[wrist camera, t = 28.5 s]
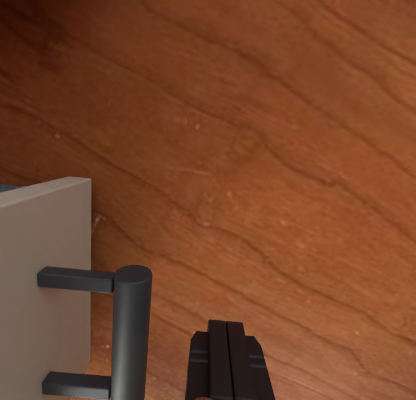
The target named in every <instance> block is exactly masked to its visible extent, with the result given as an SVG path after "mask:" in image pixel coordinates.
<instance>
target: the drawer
mask: <svg viewBox="0 0 416 400" xmlns="http://www.w3.org/2000/svg"><path fill="white" fill-rule="evenodd" d="M151 288H152V272H151V270H150V269H149V268H147V267H145V266H140V265H129V266H125V267H122V268H120V269H118V270H117V271H116V272H115V273H113V272H102V271H92V270H91V179H90V178H81V177H71V176H69V177H65V178H60V179H56V180H52V181H48V182H43V183H39V184H35V185H31V186H16V185H6V184H0V400H69V399H70V398H71V397H80V398H91V399H103V400H109V399H110V396H111V400H144V397H145V382H146V366H147V351H148V335H149V319H150V304H151ZM113 291H114V298H113V334H112V371H111V376H100V375H88V374H84V372H85V370H86V368H87V366H88V364H89V363H90V346H91V292H99V293H109V294H110V293H112V292H113Z"/></svg>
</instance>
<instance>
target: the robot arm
mask: <svg viewBox="0 0 416 400" xmlns="http://www.w3.org/2000/svg"><path fill="white" fill-rule="evenodd" d="M185 400H275V397H274V393H273V389H272V385H271V382H270V378H269V374H268V370H267V368H266V363H265V359H264V355H263V351H262V348H261V345H260V344H259V343H258V341H257V340H256V339H255V337H254V336H245V332H244V327H243V323H241V322H231V321H226V322H225V321H220V320H209V321H208V329H207V332H201V331H196V333H195V334H194V336H193V337H192V339H191V343H190V352H189V361H188V370H187V382H186V393H185Z"/></svg>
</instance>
